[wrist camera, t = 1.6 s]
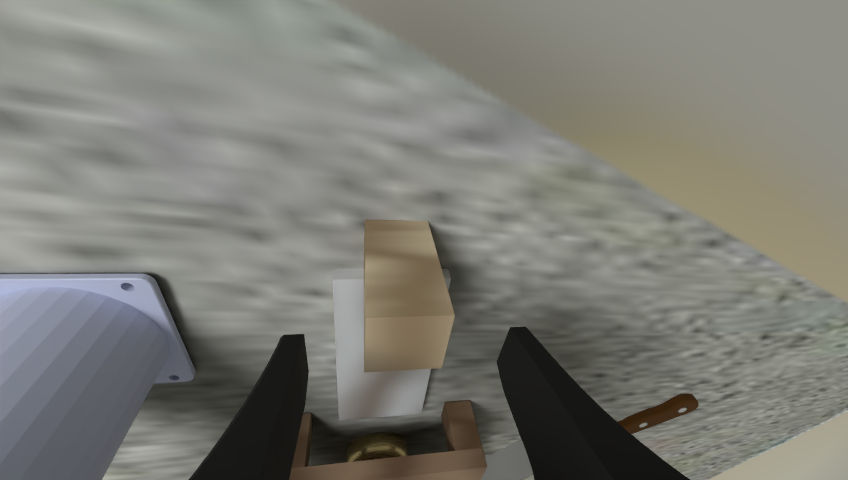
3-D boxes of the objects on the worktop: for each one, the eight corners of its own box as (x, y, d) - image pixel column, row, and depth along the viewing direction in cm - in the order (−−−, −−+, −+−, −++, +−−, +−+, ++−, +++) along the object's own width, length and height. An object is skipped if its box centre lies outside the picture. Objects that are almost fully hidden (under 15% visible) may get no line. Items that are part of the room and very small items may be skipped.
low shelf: (296, 479, 30) (286, 548, 27) (281, 415, 24) (266, 493, 20) (447, 462, 33) (458, 522, 29) (469, 400, 27) (487, 466, 23)
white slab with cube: (339, 409, 25) (333, 509, 20) (331, 218, 16) (317, 319, 11) (419, 403, 26) (432, 495, 21) (457, 222, 17) (496, 314, 12)
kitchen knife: (689, 368, 28) (702, 417, 33) (680, 358, 29) (694, 407, 34) (440, 469, 33) (484, 498, 39) (438, 458, 34) (482, 488, 39)
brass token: (347, 461, 30) (346, 487, 29) (347, 433, 27) (346, 460, 26) (403, 455, 31) (405, 479, 30) (408, 427, 28) (411, 453, 27)
